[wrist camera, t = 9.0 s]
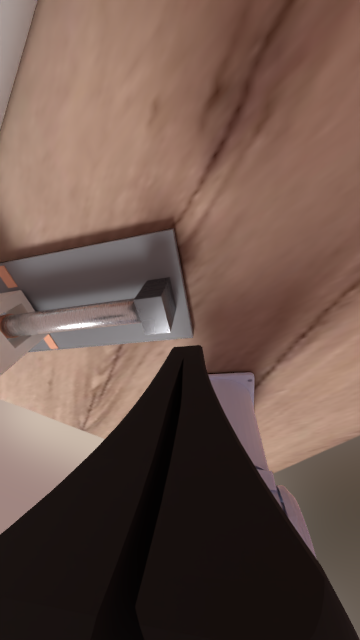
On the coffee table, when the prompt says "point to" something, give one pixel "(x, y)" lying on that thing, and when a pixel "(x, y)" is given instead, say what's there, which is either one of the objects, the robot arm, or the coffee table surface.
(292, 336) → the coffee table surface
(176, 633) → the robot arm
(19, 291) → the collar
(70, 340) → the rod board
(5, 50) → the tube
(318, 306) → the coffee table surface
